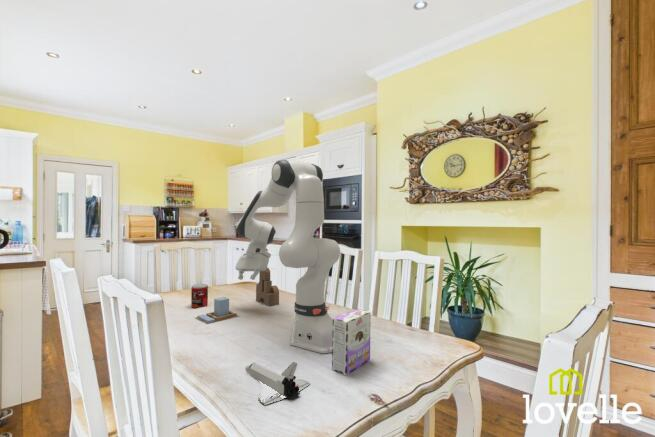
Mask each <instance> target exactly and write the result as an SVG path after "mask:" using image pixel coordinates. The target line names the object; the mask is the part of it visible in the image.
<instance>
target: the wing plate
mask: <svg viewBox="0 0 655 437" xmlns="http://www.w3.org/2000/svg"><path fill="white" fill-rule="evenodd" d="M197 318H199V319H201V320H203V321H205V322H207V323H211V322H215V319H213V318H211V317H208V316H206V314H199V315H197ZM215 323H216V322H215ZM211 324H212V323H211Z"/></svg>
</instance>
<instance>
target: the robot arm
mask: <svg viewBox="0 0 655 437" xmlns="http://www.w3.org/2000/svg"><path fill="white" fill-rule="evenodd" d="M323 176H324V173H323V170H322V168H321V167H320V166H319V165H316V164H313V163H308V162H304V161H300V160H287V159H279V160H277V161H276V162H275V163H274V164H273V165H272V168H271V177H270V180H269V182H268V185H267V187H266V188H265V189H263V190H259V191H258V192H257V193H256V194H255V195H254V197H253V199H252V201H251V202H250V204H249V205H248V207H247V208H246V210H245V212H244V213H243V215H242V217H241V218H240V219H239V220H238V222H237V224H236V225H235V226H236V228H235V231H236V233H237V234H238V236H239V237H241V238H244V239H249V240H250V242H249V244H248V247H247V248H246V252H245V253H244V254H242V255H241V256H240V257H239V259H238V260H237V263H236V265H235V266H234V267H235V268H234V269H235V270H237V271H238V277H237V279H238V280H243V279H244V275H243V274H244V273H245V272H253V273H252V274H251V275H250V277H249V278H250V279H249V280H253V281H255V280H256V277H257V276H258V274H259V271H265V270H266V268H268V265H269V262H270V258H271V256H272V254H271V253H270V252H269V251H267V247H268V245H271V244H272V243H273V240H274V237H275V235H276V233H277V231H276V229H275V227H274V225H271V224H270V223H269V222H267V221H260V220H258V219H255V218H254V215H255V214H256V212H257V211H258V210H259V209H261V208H278V207H279V208H280V207H283V206H285V205H286V204H287V203H288V202H289V200H290V198H291V196H292V193H293V192H294V190H295V219H294V220H295V222H294V227H293V229H292V231H291V233H290V235H289V237H288V238H287V239H286V240H285V241H284V242H283V243H282V244H281V245H280V247H279V250H278V256H279V261H280V262H281V263H282V266H284V267H286V268H290V269H291V268H292V269H300V268H302V269H303V268H307V269H306V271H305V273H304V274H303V275H302V276H301V277H299V278H298V280H297V281H296V284H295V302H294V306H293V307H294V313H295V315H294V319H293V325H292V332H291V337H290V341H289V344H290V345H291V346H294V347H297V348H300V349H304V350H307V351H311V352H315V353H318V354H330V353H332V338H333V337H332V336H333V317H331V316H330V315H329V313H328V310H329V309H330V306H329V305H328V306H327V305H326V302H325V290H326V289H325V287H326V281H327V278H328V275H329V272H330V270H331V268H333V266H334V265H335V264H336V263H337V262H338V260H339V258H340V256H341V248H340V245H339V244H338V242H337V241H336V240H334V239H330V238H327V237H325V238H322V237H321V238H320V237H319V238H314V234H315V232H316V230H317V229H319V228H320V227H322V226H323V225H324V223H325V198H324V190H323V189H324V188H323V184H322V182H323Z"/></svg>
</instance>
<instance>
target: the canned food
mask: <svg viewBox="0 0 655 437" xmlns="http://www.w3.org/2000/svg"><path fill="white" fill-rule="evenodd" d="M190 289H191V294H190V295H191V300H190V302H191V303H190V304H191V308H192V309H195V310H196V309H200V308H206V307H208V304H209V302H208V301H209V299H208V297H209V293H208V292H209V286H208V283H207V284H206V283H198V284H192V285H191V288H190Z"/></svg>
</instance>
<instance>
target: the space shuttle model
mask: <svg viewBox="0 0 655 437" xmlns="http://www.w3.org/2000/svg"><path fill="white" fill-rule="evenodd" d="M297 367H298V363H297V362H294V361H293V362H291V364H289V365H288V367H286V369H284V371H283V372H282V373H278V372H276V371H274V370H272V369H269V368H267V367H266V366H264V365H261V364H259V363H257V362H253V363H251V364H248V365H246V366H245V371H246V372H247V374H248V375H249V376H250V377H252V378H254V379H255V380H257V381H258V380H259V381H261V382H262V383H263V384H266V385H267V386H269V387H271V388H272V389H274V390H275V391H277V392H278V393H279V394H280V395H279V394H278V393H276V394H274V395H276V396H274V395H273V396H274V397H273V396H271V397H270V398H268V397H269V396H268V397H267V398H268V399H267V398H266V399H265V402H264V399H263V400H262V402H261V400H260V398H261V397H262V396H261V397H260V398H259V397H258V399H259V400H258V399H257V400H258V402H259V401H260V402H261V403H260V402H259V403H260V404H262V405H263V404H264V406H267V405H271V404H273V402H274V403H276V401H277V402H281V401H283V400H282V398H281V397H280V396H281V395H283V396H285V397H286V398H287V399H288V400H289V399H290V400H291V399H293V398H294V397H297V396H299V395H301V393H300V392H299V390H301V391H303V390H305V388H307V387H308V386H309V385H311V383H310V382H308V381H307V380H304V379H296V378H297V377H296V375H295V373H296V370H297ZM259 381H258V382H259ZM302 389H303V390H302ZM298 392H299V393H298ZM278 395H279V396H278ZM272 397H273V398H272ZM287 399H286V400H287ZM280 400H281V401H280ZM270 403H271V404H270Z"/></svg>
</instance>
